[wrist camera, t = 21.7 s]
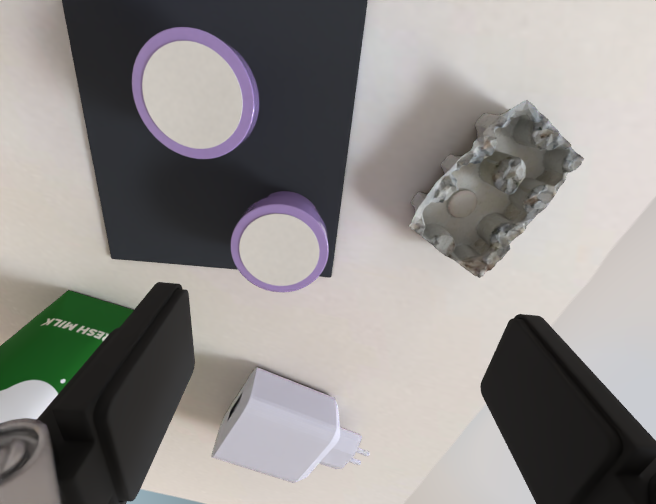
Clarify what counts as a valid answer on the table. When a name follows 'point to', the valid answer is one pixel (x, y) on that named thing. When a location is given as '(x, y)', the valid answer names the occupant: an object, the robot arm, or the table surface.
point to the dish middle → (195, 92)
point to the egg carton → (494, 187)
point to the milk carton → (52, 352)
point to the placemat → (244, 161)
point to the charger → (284, 429)
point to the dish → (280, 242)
